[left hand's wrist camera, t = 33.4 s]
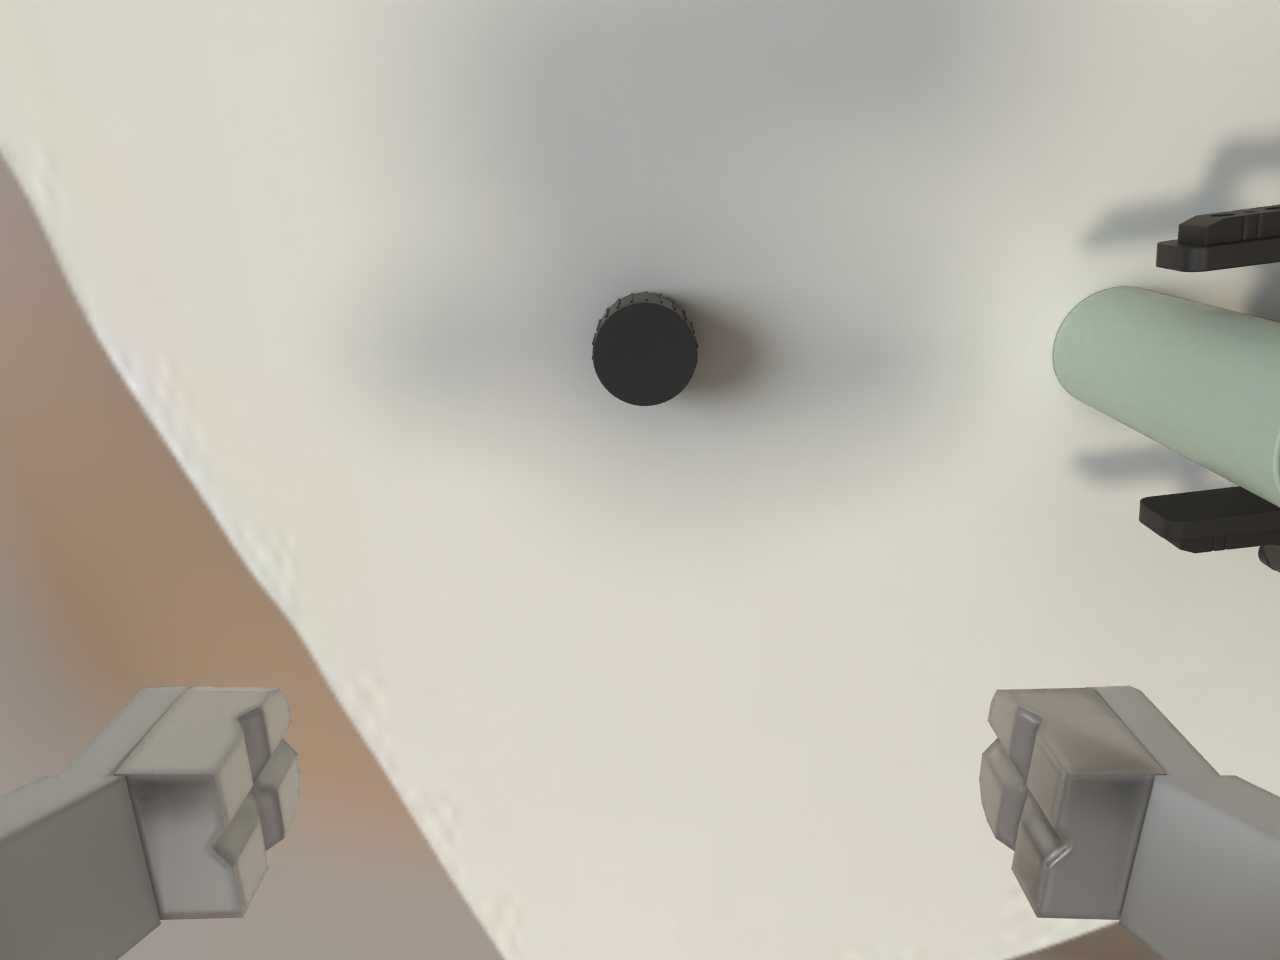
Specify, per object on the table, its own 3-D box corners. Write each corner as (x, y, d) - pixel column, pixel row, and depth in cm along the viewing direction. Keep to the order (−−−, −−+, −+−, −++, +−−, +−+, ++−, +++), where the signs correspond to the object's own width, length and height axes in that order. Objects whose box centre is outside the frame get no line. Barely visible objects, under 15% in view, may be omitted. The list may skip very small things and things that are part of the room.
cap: (647, 410, 35) (648, 428, 32) (574, 344, 34) (568, 358, 32) (715, 339, 34) (720, 352, 31) (641, 269, 33) (641, 277, 31)
